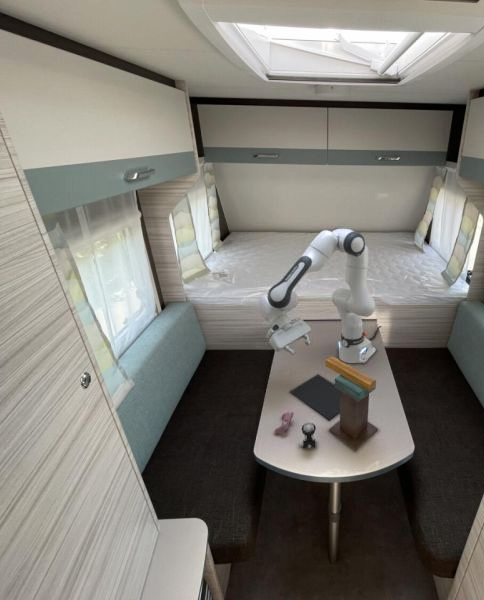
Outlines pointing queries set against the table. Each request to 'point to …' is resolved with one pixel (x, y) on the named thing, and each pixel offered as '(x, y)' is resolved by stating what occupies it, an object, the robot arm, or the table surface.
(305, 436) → the black silver upright piece
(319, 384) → the mat
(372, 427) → the stand
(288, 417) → the pink irregular piece
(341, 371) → the ochre bar
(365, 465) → the table surface
